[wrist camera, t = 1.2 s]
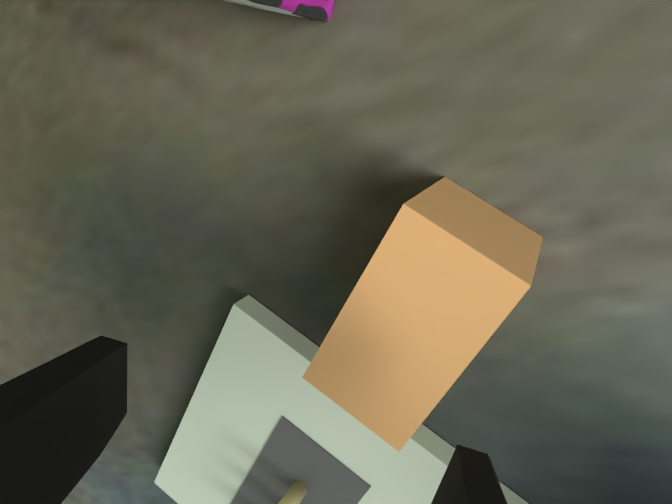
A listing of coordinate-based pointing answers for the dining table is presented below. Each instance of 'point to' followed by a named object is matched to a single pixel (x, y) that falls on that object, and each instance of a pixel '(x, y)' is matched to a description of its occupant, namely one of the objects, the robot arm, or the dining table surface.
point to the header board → (287, 432)
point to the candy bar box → (294, 7)
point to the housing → (423, 309)
